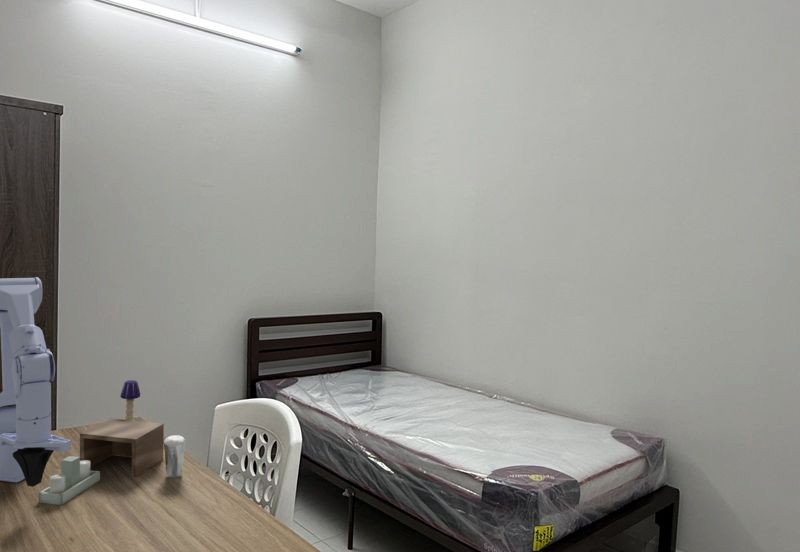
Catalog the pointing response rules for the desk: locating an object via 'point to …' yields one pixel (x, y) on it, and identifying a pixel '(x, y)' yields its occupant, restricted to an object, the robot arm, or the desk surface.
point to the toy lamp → (130, 396)
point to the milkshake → (174, 455)
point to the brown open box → (124, 443)
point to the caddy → (69, 481)
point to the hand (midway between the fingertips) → (34, 484)
